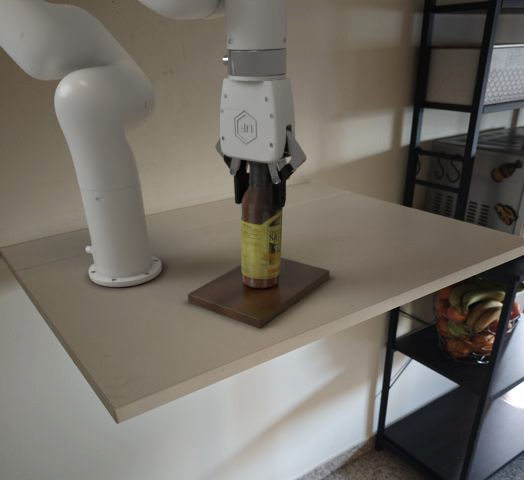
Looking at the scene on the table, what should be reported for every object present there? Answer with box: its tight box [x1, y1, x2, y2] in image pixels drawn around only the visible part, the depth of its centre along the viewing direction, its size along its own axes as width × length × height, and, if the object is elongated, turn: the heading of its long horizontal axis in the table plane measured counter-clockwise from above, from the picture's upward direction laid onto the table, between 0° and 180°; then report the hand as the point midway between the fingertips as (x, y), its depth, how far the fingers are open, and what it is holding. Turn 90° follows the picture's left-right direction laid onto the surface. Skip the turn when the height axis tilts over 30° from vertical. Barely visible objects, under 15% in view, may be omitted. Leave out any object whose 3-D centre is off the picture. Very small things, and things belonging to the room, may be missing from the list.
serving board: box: [187, 257, 331, 329], centre depth 81 cm, size 14×20×2 cm
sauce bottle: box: [240, 161, 284, 289], centre depth 75 cm, size 6×6×20 cm
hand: (259, 204), depth 74 cm, fingers closed on sauce bottle, 5 cm apart
